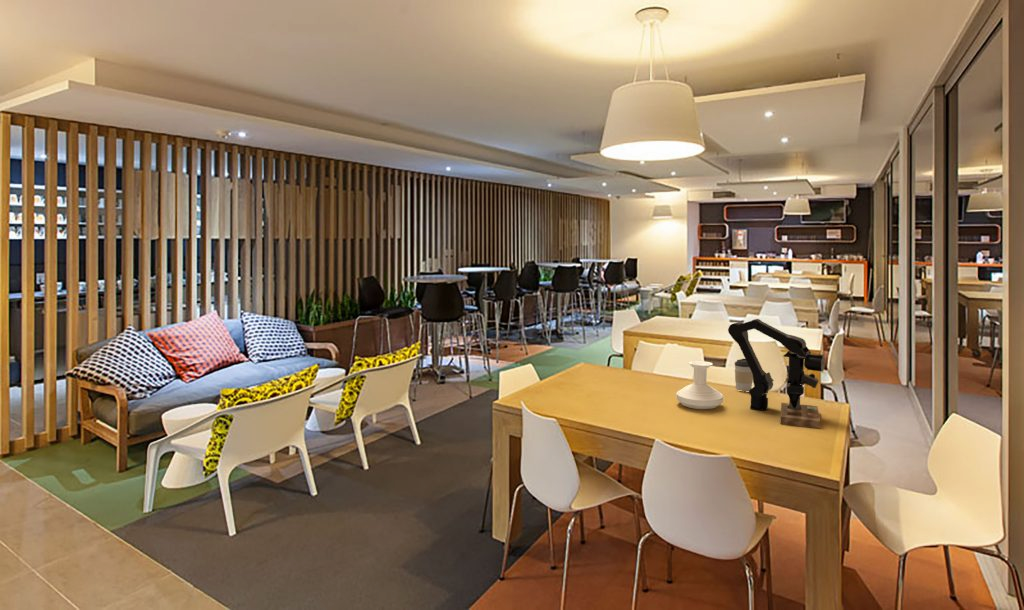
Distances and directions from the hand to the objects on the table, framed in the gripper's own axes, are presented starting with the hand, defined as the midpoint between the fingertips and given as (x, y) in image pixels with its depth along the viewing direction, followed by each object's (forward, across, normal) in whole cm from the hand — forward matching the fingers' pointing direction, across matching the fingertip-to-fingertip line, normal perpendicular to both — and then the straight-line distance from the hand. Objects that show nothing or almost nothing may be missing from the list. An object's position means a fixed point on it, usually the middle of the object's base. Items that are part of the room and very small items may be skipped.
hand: (794, 404), depth 248 cm
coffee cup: (+4, +34, +22) cm, 41 cm away
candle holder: (+4, -2, +38) cm, 38 cm away
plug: (+4, 0, 0) cm, 4 cm away
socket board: (+4, -5, -2) cm, 7 cm away
